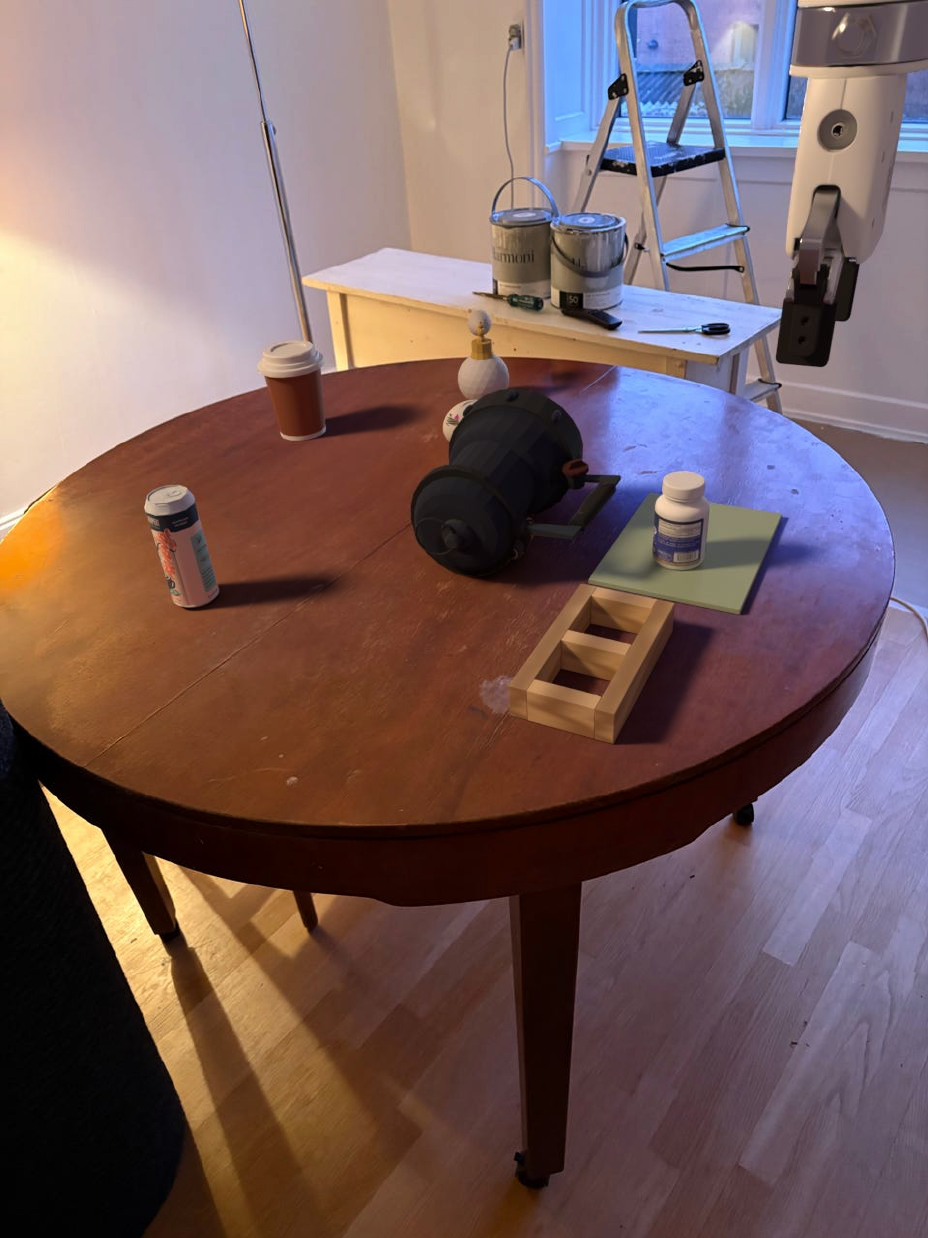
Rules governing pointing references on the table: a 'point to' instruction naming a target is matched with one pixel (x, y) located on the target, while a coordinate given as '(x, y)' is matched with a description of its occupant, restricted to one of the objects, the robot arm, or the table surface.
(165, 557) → the beer can
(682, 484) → the pill bottle
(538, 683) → the rack
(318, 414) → the coffee cup
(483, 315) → the perfume bottle
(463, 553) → the flashlight
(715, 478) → the table surface
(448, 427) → the white rounded ceramic piece
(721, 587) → the mat
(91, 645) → the table surface
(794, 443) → the table surface
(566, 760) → the table surface
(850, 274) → the robot arm
